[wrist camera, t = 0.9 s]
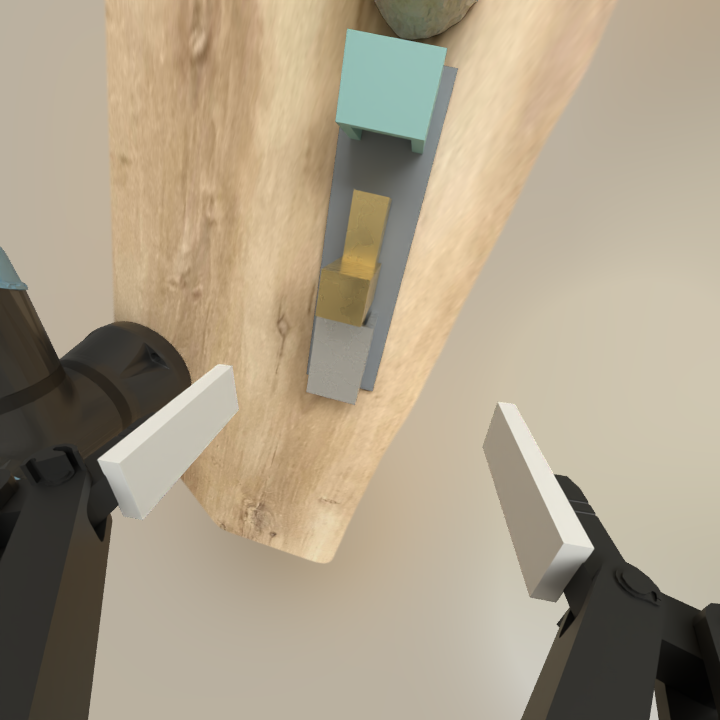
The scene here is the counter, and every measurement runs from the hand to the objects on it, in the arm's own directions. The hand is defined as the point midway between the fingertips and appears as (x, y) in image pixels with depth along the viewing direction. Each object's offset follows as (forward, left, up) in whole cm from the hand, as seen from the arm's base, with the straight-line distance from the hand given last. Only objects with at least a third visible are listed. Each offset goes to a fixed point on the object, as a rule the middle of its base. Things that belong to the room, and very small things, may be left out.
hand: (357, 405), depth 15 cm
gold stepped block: (-4, 0, -20) cm, 21 cm away
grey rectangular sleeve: (-4, -7, -21) cm, 23 cm away
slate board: (-4, +4, -21) cm, 22 cm away
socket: (-4, +16, -21) cm, 27 cm away
